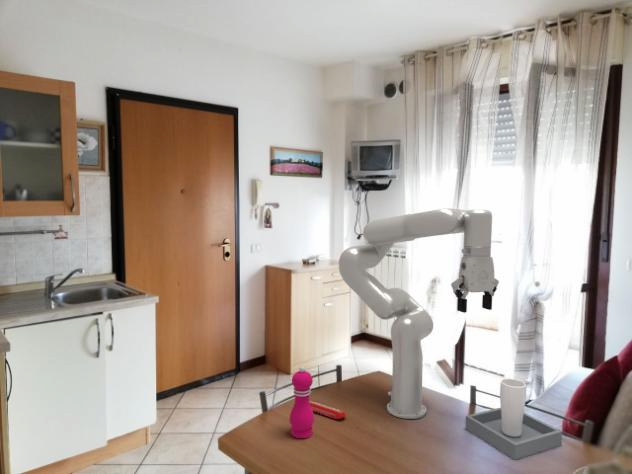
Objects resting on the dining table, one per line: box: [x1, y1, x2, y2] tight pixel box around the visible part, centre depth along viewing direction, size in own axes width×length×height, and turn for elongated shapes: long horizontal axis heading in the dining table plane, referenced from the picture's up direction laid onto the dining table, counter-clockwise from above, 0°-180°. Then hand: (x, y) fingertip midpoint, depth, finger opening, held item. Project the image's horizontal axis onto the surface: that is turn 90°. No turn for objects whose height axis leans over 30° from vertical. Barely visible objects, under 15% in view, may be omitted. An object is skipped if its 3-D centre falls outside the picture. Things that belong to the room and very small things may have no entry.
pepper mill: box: [289, 366, 315, 439], centre depth 128 cm, size 7×7×20 cm
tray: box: [464, 407, 563, 461], centre depth 128 cm, size 18×18×4 cm
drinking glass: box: [499, 378, 527, 437], centre depth 127 cm, size 7×7×15 cm
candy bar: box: [309, 400, 347, 420], centre depth 141 cm, size 16×4×3 cm, turn 54°
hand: (474, 310), depth 129 cm, fingers open, 9 cm apart
